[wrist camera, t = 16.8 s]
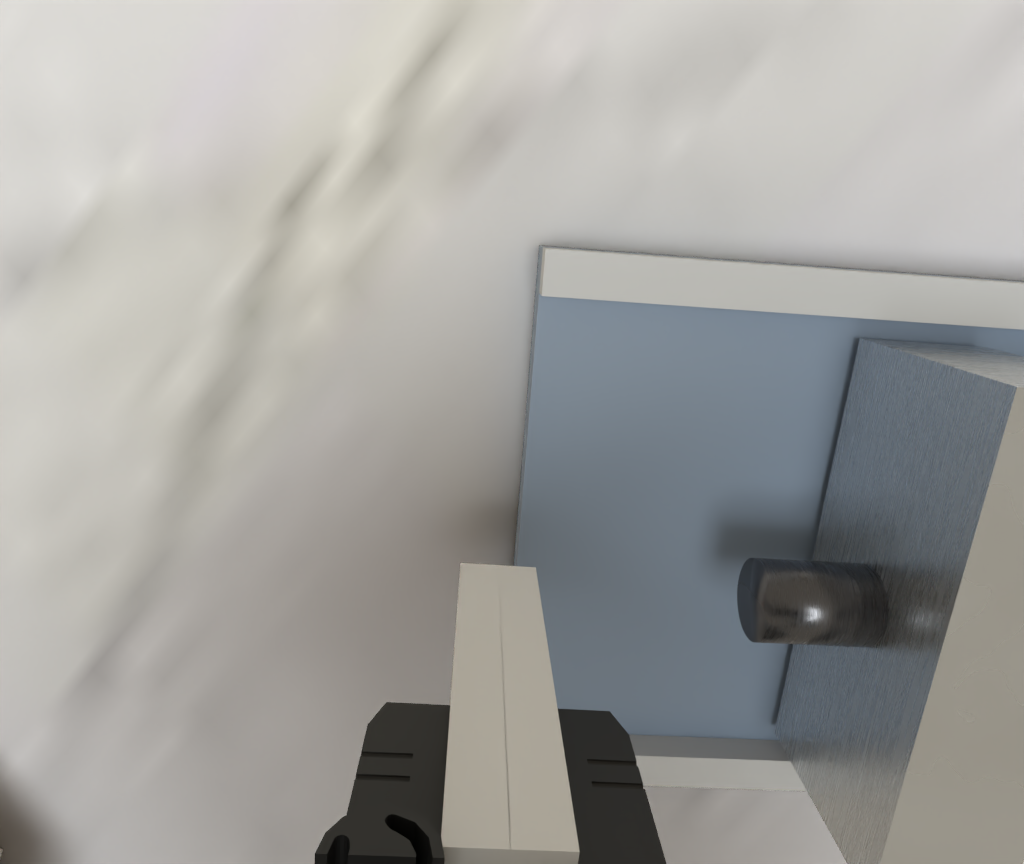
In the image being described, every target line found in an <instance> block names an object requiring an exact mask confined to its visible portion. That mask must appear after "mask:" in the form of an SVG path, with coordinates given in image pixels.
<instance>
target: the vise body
mask: <svg viewBox="0 0 1024 864" xmlns="http://www.w3.org/2000/svg"><path fill="white" fill-rule="evenodd" d="M860 338H865V339H880V340H894V341H909V342H924V343H938V344H953V345H967V346H982V347H988V348H992V349H996V350H1000V351H1004V352H1008V353H1012V354H1016V355H1020V356H1024V281H1013V280H999V279H986V278H972V277H959V276H945V275H931V274H918V273H904V272H891V271H877V270H864V269H850V268H836V267H823V266H809V265H796V264H782V263H768V262H755V261H741V260H728V259H714V258H700V257H687V256H673V255H660V254H646V253H632V252H619V251H605V250H592V249H578V248H564V247H551V246H539V255H538V267H537V280H536V292H535V305H534V317H533V330H532V342H531V354H530V367H529V379H528V392H527V404H526V417H525V429H524V442H523V454H522V467H521V479H520V492H519V504H518V516H517V529H516V541H515V554H514V566H521V567H536V572H537V578H538V585H539V591H540V598H541V604H542V611H543V617H544V624H545V630H546V637H547V643H548V650H549V656H550V663H551V669H552V676H553V682H554V689H555V695H556V701H557V708H558V709H577V710H597V711H610V712H611V713H612V715H613V716H614V717H615V718H616V719H617V721H618V722H619V723H620V724H621V725H622V727H623V728H624V729H625V730H626V732H627V733H628V734H629V736H630V740H631V743H632V747H633V750H634V754H635V757H636V761H637V766H638V768H639V771H640V774H641V778H642V781H643V786H656V787H685V788H714V789H744V790H773V791H802V792H807V790H806V788H805V787H804V785H803V783H802V781H801V779H800V778H799V776H798V774H797V772H796V771H795V769H794V767H793V765H792V763H791V762H790V760H789V758H788V756H787V754H786V753H785V751H784V749H783V747H782V746H781V744H780V742H779V740H778V738H777V737H776V735H775V733H774V732H775V727H776V722H777V718H778V713H779V709H780V704H781V699H782V695H783V690H784V686H785V681H786V676H787V672H788V667H789V662H790V658H791V653H792V649H793V644H777V643H755V642H752V641H750V640H749V639H748V638H747V636H746V635H745V633H744V631H743V629H742V626H741V622H740V619H739V613H738V605H737V587H738V580H739V575H740V571H741V569H742V566H743V564H744V563H745V561H746V560H747V559H749V558H769V559H788V560H808V561H812V556H813V552H814V547H815V542H816V538H817V533H818V529H819V524H820V519H821V515H822V510H823V505H824V501H825V496H826V492H827V487H828V482H829V478H830V473H831V469H832V464H833V459H834V455H835V450H836V445H837V441H838V436H839V432H840V427H841V422H842V418H843V413H844V408H845V404H846V399H847V395H848V390H849V385H850V381H851V376H852V372H853V367H854V362H855V358H856V353H857V348H858V344H859V339H860Z"/></svg>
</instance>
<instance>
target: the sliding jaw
mask: <svg viewBox="0 0 1024 864" xmlns="http://www.w3.org/2000/svg"><path fill="white" fill-rule="evenodd" d="M737 605H738V613H739V619H740V622H741V626H742V629H743V631H744V633H745V635H746V636H747V638H748V639H749V640H750V641H752V642H755V643H777V644H793V649H792V653H791V658H790V662H789V667H788V672H787V676H786V681H785V686H784V690H783V695H782V699H781V704H780V709H779V713H778V718H777V722H776V727H775V732H774V733H775V735H776V737H777V738H778V740H779V742H780V744H781V746H782V747H783V749H784V751H785V753H786V754H787V756H788V758H789V760H790V762H791V763H792V765H793V767H794V769H795V771H796V772H797V774H798V776H799V778H800V779H801V781H802V783H803V785H804V787H805V788H806V790H807V792H808V794H809V796H810V797H811V799H812V801H813V803H814V805H815V806H816V808H817V810H818V812H819V813H820V815H821V817H822V819H823V821H824V822H825V824H826V826H827V828H828V830H829V831H830V833H831V835H832V837H833V839H834V840H835V842H836V844H837V846H838V847H839V849H840V851H841V853H842V855H843V856H844V858H845V860H846V862H847V864H1023V861H1024V356H1020V355H1016V354H1012V353H1008V352H1004V351H1000V350H996V349H992V348H988V347H982V346H967V345H953V344H938V343H924V342H909V341H894V340H880V339H865V338H860V339H859V344H858V348H857V353H856V358H855V362H854V367H853V372H852V376H851V381H850V385H849V390H848V395H847V399H846V404H845V408H844V413H843V418H842V422H841V427H840V432H839V436H838V441H837V445H836V450H835V455H834V459H833V464H832V469H831V473H830V478H829V482H828V487H827V492H826V496H825V501H824V505H823V510H822V515H821V519H820V524H819V529H818V533H817V538H816V542H815V547H814V552H813V556H812V561H808V560H788V559H769V558H749V559H747V560H746V561H745V563H744V564H743V566H742V569H741V571H740V575H739V580H738V587H737Z"/></svg>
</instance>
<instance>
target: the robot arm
mask: <svg viewBox="0 0 1024 864" xmlns="http://www.w3.org/2000/svg"><path fill="white" fill-rule="evenodd" d="M315 864H666V861H665V858H664V854H663V851H662V847H661V844H660V840H659V837H658V833H657V830H656V827H655V823H654V820H653V816H652V813H651V809H650V806H649V802H648V799H647V795H646V792H645V789H643V781H642V778H641V774H640V771H639V768H638V766H637V761H636V757H635V754H634V750H633V747H632V743H631V740H630V736H629V734H628V733H627V732H626V730H625V729H624V728H623V727H622V725H621V724H620V723H619V722H618V721H617V719H616V718H615V717H614V716H613V715H612V713H611V712H610V711H597V710H577V709H558V708H557V701H556V695H555V689H554V682H553V676H552V669H551V663H550V656H549V650H548V643H547V637H546V630H545V624H544V617H543V611H542V604H541V598H540V591H539V585H538V578H537V572H536V567H521V566H505V565H489V564H473V563H460V576H459V589H458V602H457V616H456V629H455V642H454V656H453V669H452V682H451V696H450V705H431V704H411V703H391V702H386V704H385V705H384V706H383V707H382V708H381V710H380V711H379V712H378V713H377V714H376V715H375V717H374V718H373V719H372V720H371V721H370V723H369V724H368V726H367V731H366V735H365V739H364V743H363V748H362V753H361V757H360V760H359V765H358V769H357V773H356V780H355V782H354V786H353V790H352V795H351V799H350V803H349V807H348V812H347V816H344V817H343V818H341V819H340V820H339V821H338V822H337V823H336V824H335V825H334V826H333V827H332V828H330V829H329V830H328V831H327V832H326V833H325V835H324V837H323V839H322V841H321V843H320V845H319V847H318V849H317V851H316V853H315Z"/></svg>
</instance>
